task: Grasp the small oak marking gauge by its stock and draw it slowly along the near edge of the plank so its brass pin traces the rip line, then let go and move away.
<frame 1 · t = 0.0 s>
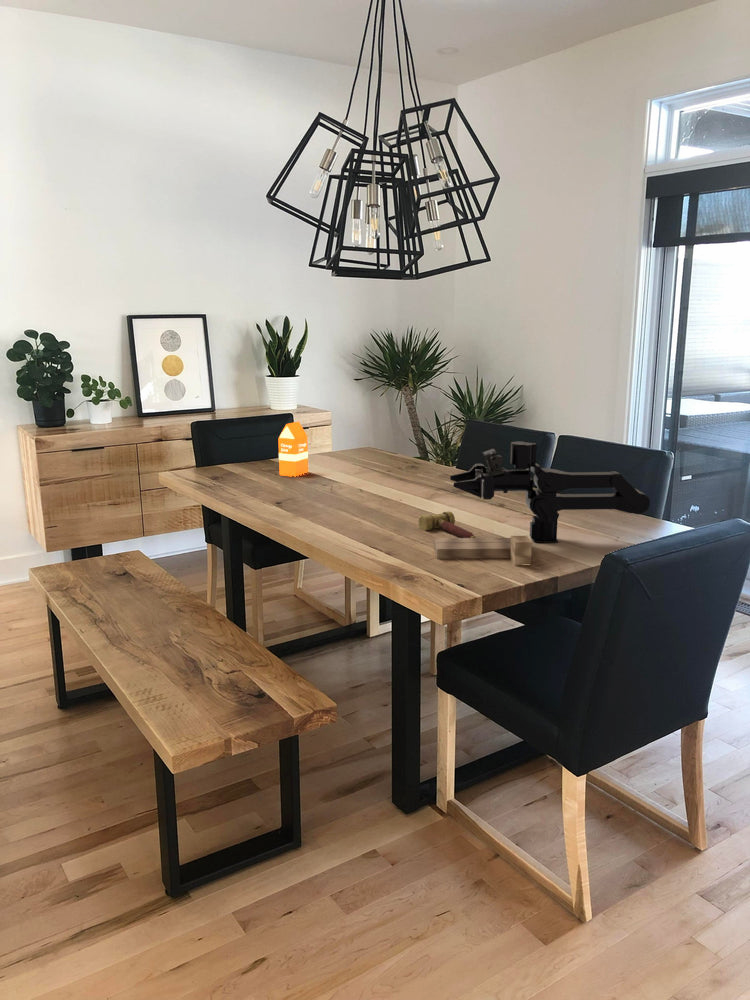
hand: (451, 481, 217), 17 cm above the table, tool horizontal, fingers open, 9 cm apart
gavel: (453, 535, 228), on the table
gauge: (520, 562, 202), on the table
orange juice: (294, 474, 314), on the table
plank: (481, 552, 210), on the table
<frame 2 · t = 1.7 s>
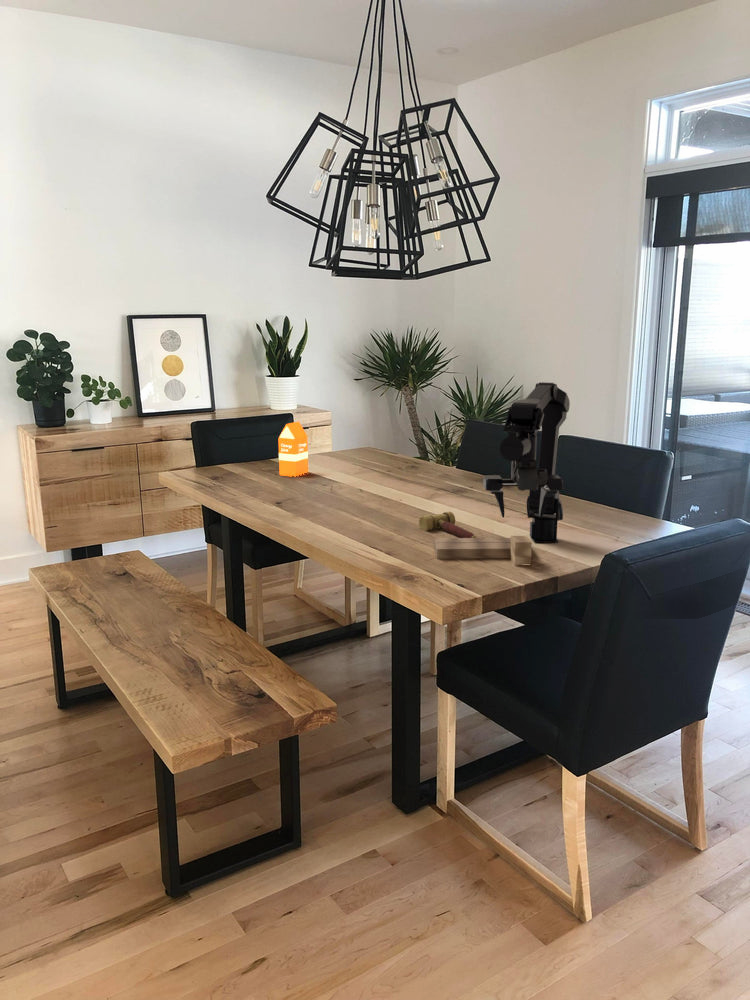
hand: (521, 517, 199), 11 cm above the table, tool pointing down, fingers open, 9 cm apart
nothing on the table moved.
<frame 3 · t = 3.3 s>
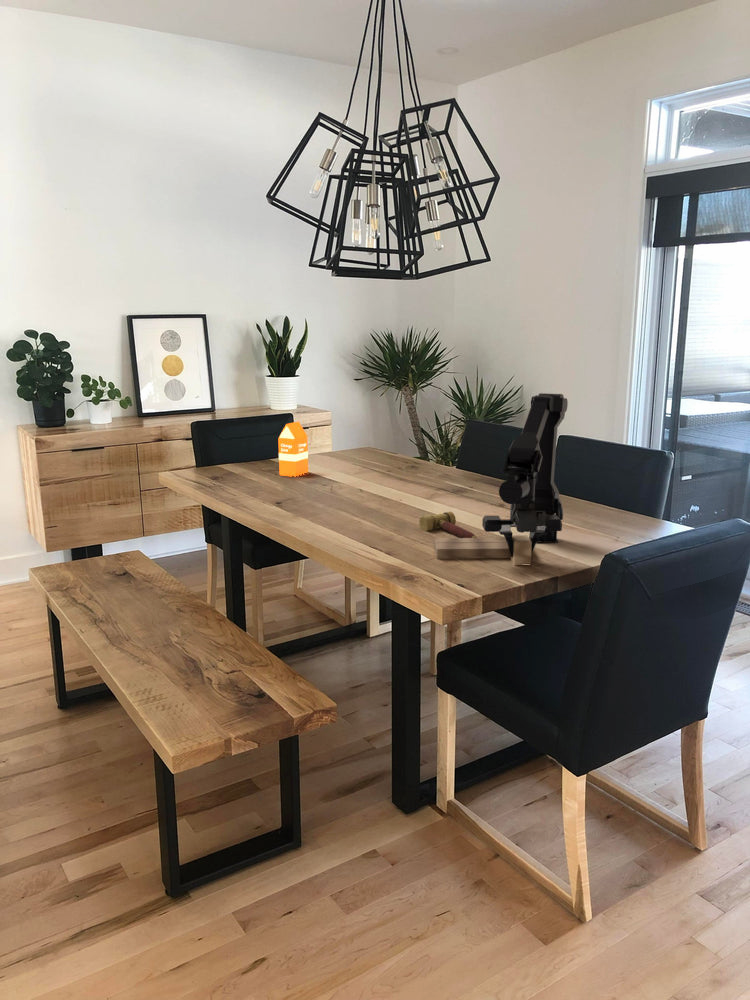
hand: (520, 556, 201), 1 cm above the table, tool pointing down, fingers closed on gauge, 4 cm apart
gauge: (520, 561, 202), on the table, touching gripper
everything else where it was.
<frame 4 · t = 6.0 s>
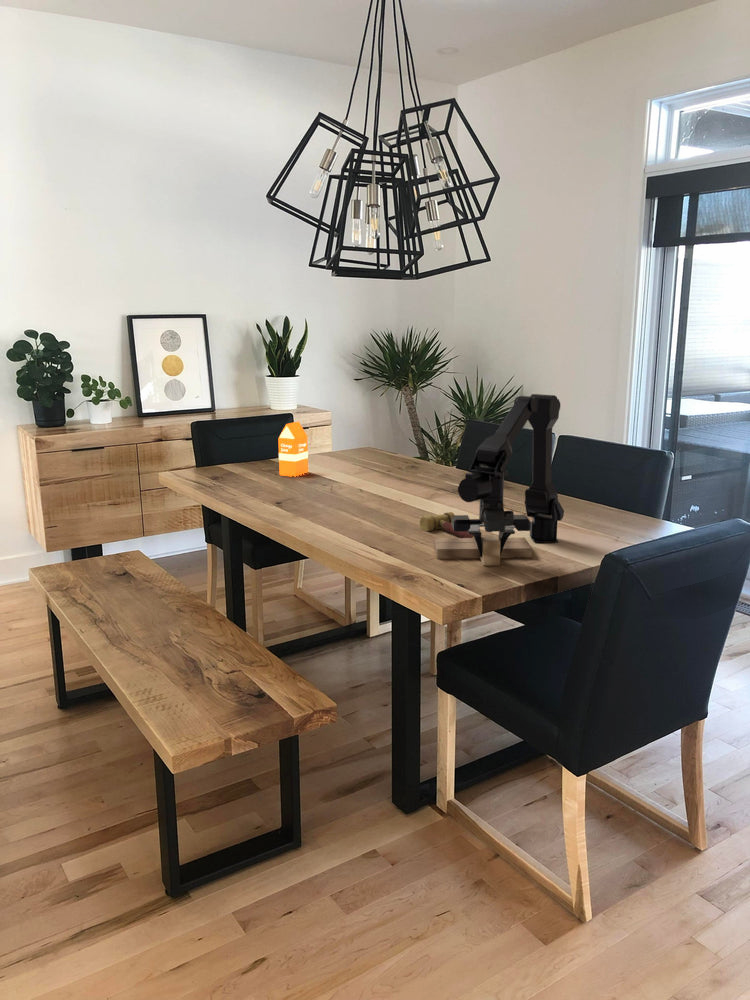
hand: (489, 556, 201), 1 cm above the table, tool pointing down, fingers closed on gauge, 4 cm apart
gauge: (489, 561, 202), on the table, touching gripper
everything else where it was.
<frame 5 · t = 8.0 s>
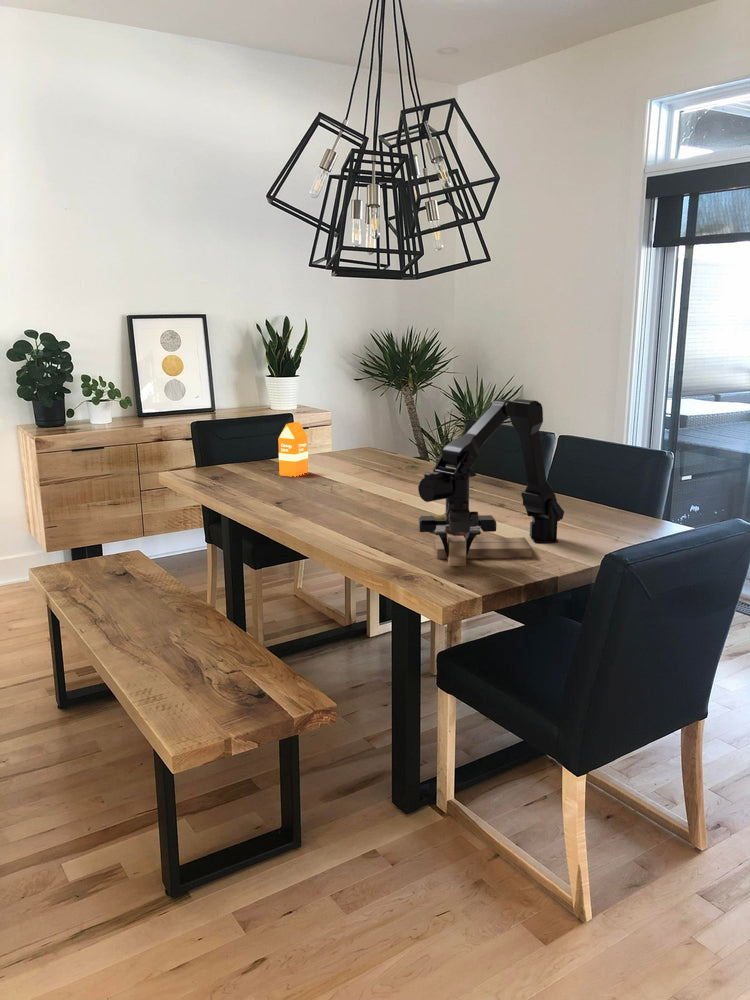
hand: (456, 557, 201), 1 cm above the table, tool pointing down, fingers closed on gauge, 4 cm apart
gauge: (456, 562, 202), on the table, touching gripper
when the fingers open (1 cm above the table, at t = 9.0 s): gauge stays where it is, on the table.
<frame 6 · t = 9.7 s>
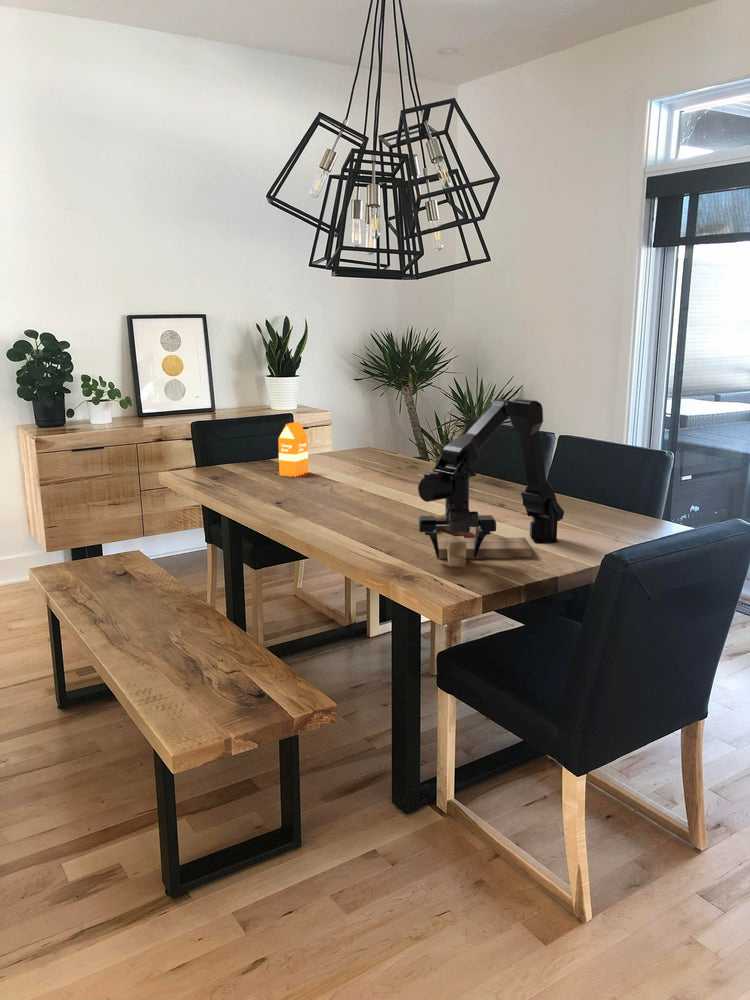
hand: (456, 557, 201), 1 cm above the table, tool pointing down, fingers open, 9 cm apart
gauge: (456, 562, 202), on the table
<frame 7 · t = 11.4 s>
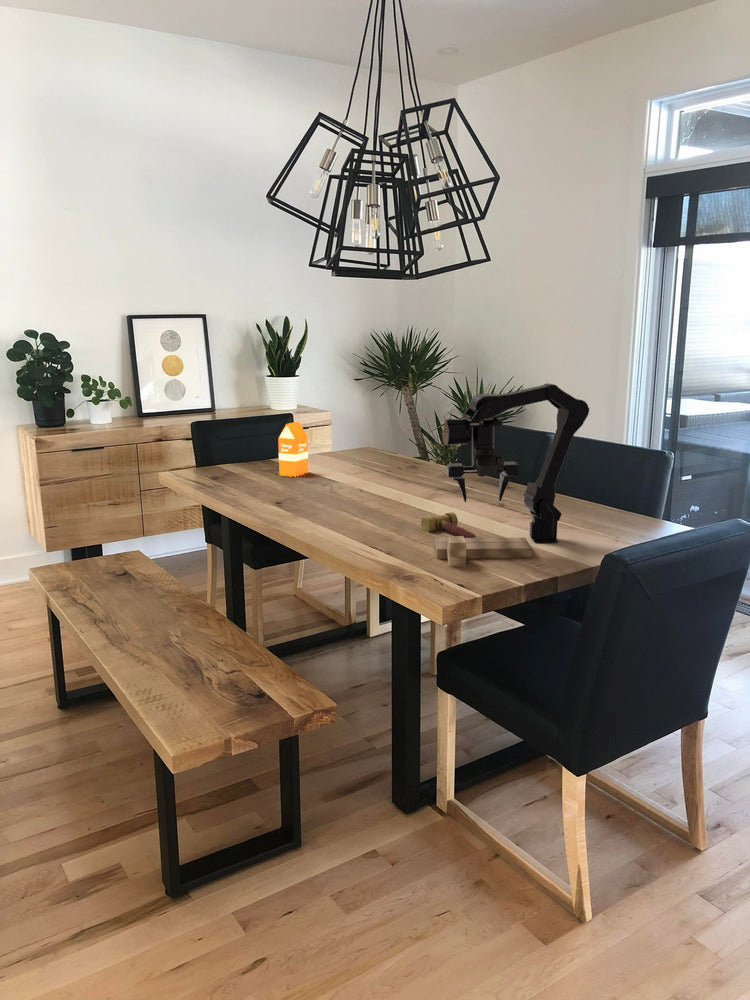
hand: (482, 501, 215), 12 cm above the table, tool pointing down, fingers open, 9 cm apart
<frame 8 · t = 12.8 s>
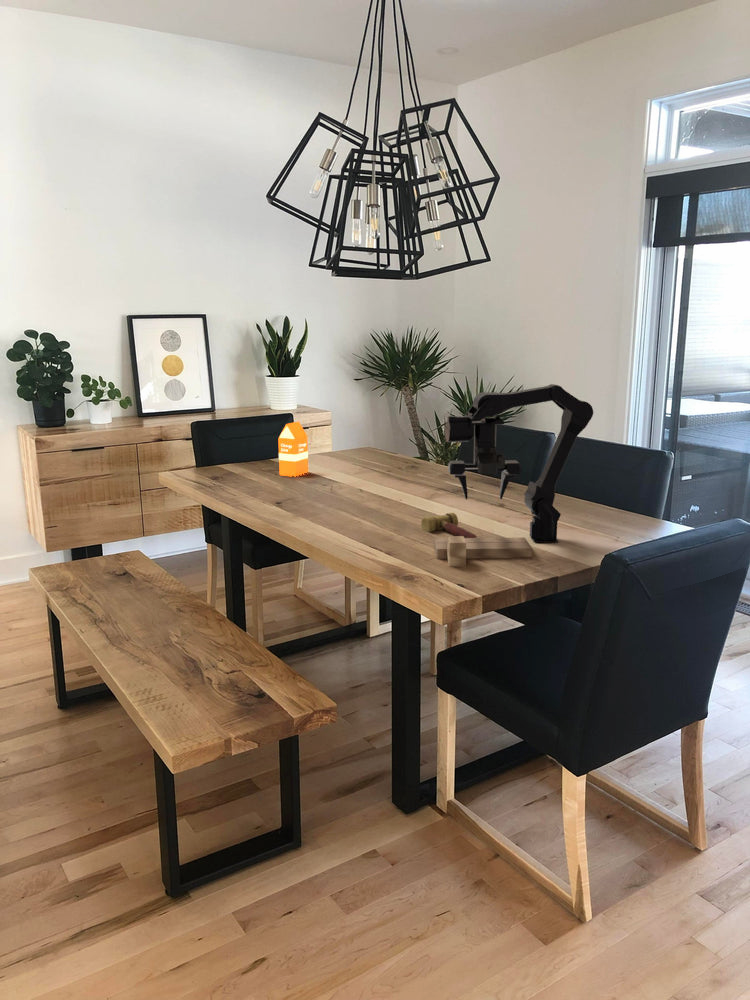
hand: (483, 499, 216), 12 cm above the table, tool pointing down, fingers open, 9 cm apart
at the end: gauge moved 16.0 cm from its start; gauge inside the target area (0.4 cm from its centre), on the table; gauge tilted 0° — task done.
